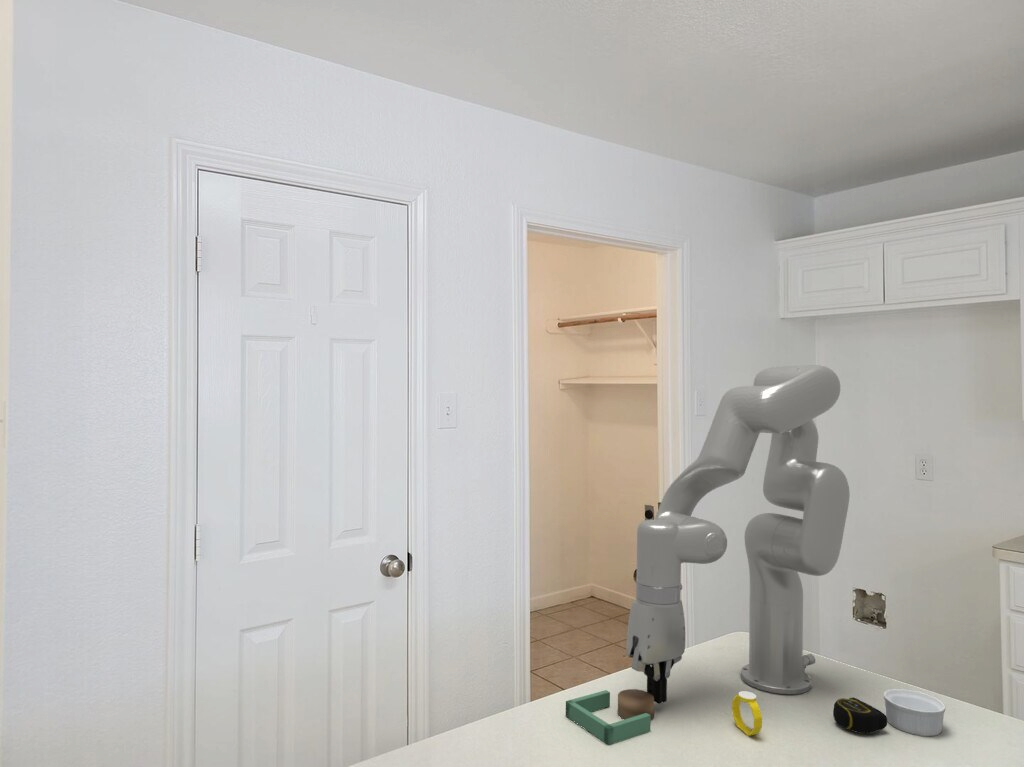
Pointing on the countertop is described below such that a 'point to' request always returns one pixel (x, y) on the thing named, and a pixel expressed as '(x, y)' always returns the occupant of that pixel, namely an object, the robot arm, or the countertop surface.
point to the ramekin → (914, 712)
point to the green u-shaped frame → (606, 732)
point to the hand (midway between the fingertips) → (656, 699)
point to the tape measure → (858, 716)
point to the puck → (635, 703)
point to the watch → (751, 700)
